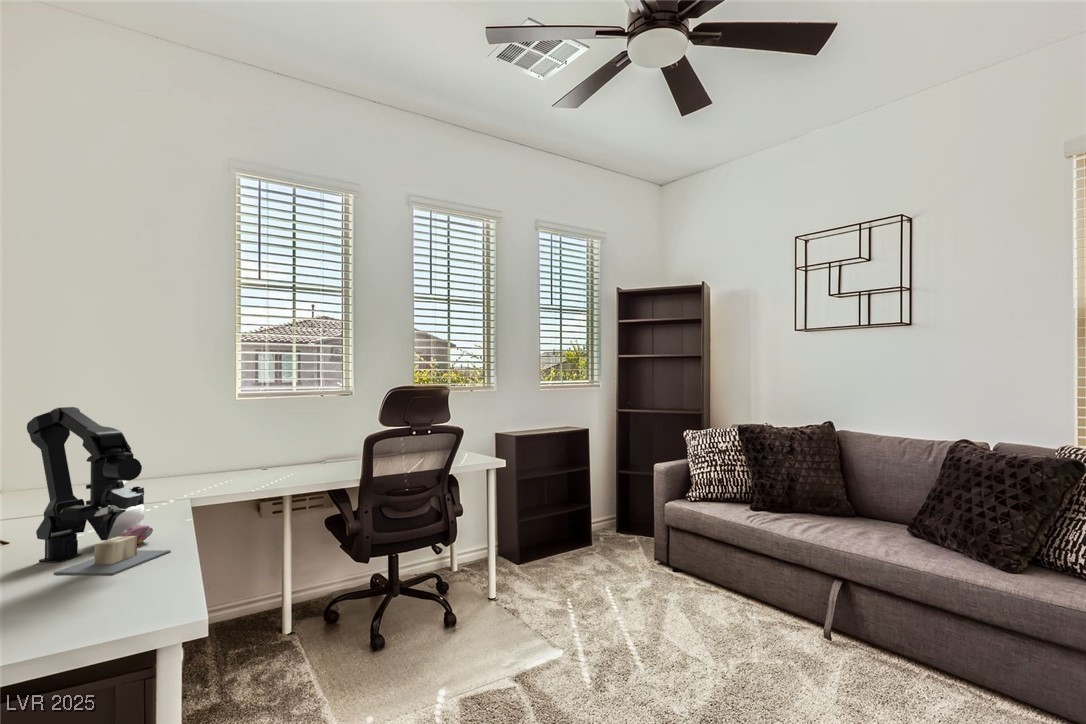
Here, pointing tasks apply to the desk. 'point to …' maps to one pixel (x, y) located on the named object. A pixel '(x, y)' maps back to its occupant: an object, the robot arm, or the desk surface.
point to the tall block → (115, 549)
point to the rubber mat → (111, 569)
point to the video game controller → (138, 532)
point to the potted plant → (127, 518)
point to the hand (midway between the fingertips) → (104, 540)
